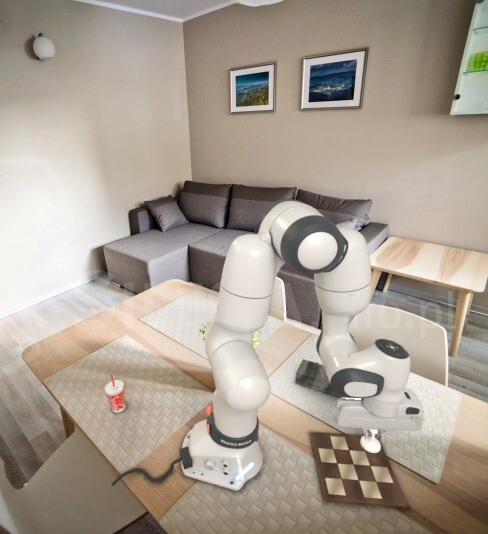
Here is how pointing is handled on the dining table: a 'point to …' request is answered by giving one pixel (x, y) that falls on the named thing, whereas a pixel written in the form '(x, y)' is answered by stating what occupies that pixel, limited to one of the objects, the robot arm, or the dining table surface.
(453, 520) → the dining table surface
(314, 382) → the stone block
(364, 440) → the chess piece
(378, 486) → the game board
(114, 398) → the beverage cup
